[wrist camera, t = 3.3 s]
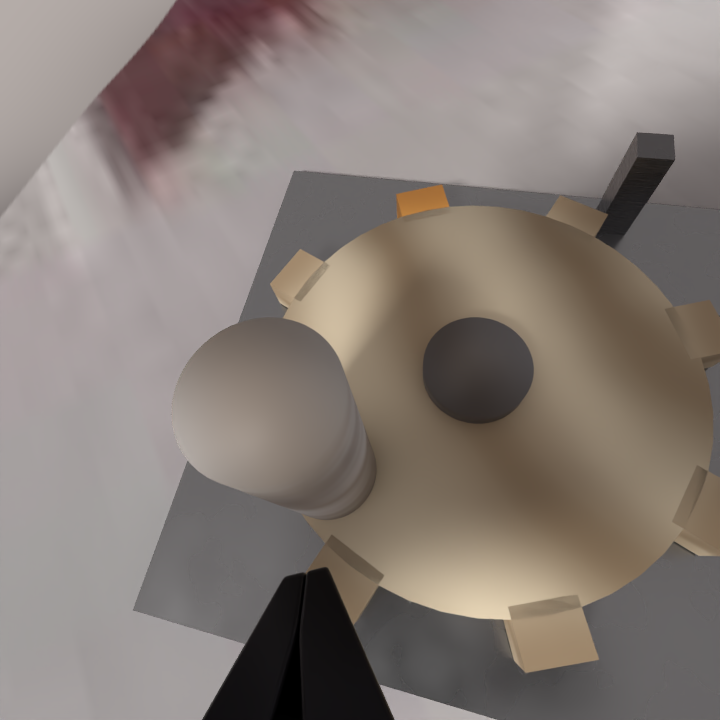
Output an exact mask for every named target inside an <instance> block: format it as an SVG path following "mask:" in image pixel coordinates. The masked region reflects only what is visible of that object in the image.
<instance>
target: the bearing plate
mask: <svg viewBox="0 0 720 720" xmlns="http://www.w3.org/2000/svg"><path fill="white" fill-rule="evenodd" d="M674 161H675V150H674V135H667V134H652V133H637V134H636V136H635V137H634V139H633V141H632V143H631V145H630V147H629V149H628V150H627V152H626V154H625V156H624V158H623V160H622V162H621V164H620V165H619V167H618V169H617V171H616V173H615V175H614V177H613V178H612V180H611V182H610V184H609V186H608V188H607V190H606V192H605V193H604V195H603V197H602V199H598V198H587V197H576V196H565V195H561V196H563V197H566V198H568V199H571V200H573V201H576V202H578V203H581V204H583V205H586V206H588V207H591V208H593V209H596V210H598V211H601V212H603V213H606V214H608V216H607V218H606V219H605V221H604V223H603V224H602V226H601V228H600V230H599V231H598V233H597V235H596V237H595V238H597V239H599V240H600V241H602V242H603V243H605V244H607V245H608V246H610V247H611V248H613V249H615V250H616V251H618V252H619V253H620V254H621V255H623V256H624V257H625V258H627V259H628V260H629V261H630V262H632V263H633V264H634V265H635V266H637V267H638V268H639V269H640V270H641V271H642V272H643V273H644V274H645V275H646V276H647V277H648V278H649V279H650V280H651V281H652V282H653V283H654V284H655V285H656V286H657V287H658V288H659V289H660V291H661V292H662V293H663V294H664V296H665V297H666V298H667V299H668V300H669V302H670V303H671V304H672V305H673V307H676V306H681V305H686V304H691V303H696V302H701V301H706V300H710V301H711V303H712V305H713V307H714V308H715V310H716V312H717V313H718V315H719V317H720V210H719V209H708V208H697V207H686V206H675V205H664V204H653V203H647V201H648V200H649V198H650V197H651V195H652V194H653V192H654V191H655V189H656V188H657V186H658V185H659V183H660V182H661V180H662V179H663V177H664V176H665V174H666V173H667V171H668V170H669V168H670V167H671V165H672V164H673V162H674ZM437 185H442V186H443V189H444V192H445V195H446V198H447V201H448V204H449V207H455V206H492V207H503V208H509V209H516V210H522V211H526V212H530V213H534V214H538V215H542V216H547V214H548V213H549V211H550V210H551V208H552V207H553V205H554V204H555V202H556V201H557V199H558V198H559V196H560V195H554V194H543V193H532V192H521V191H510V190H499V189H488V188H477V187H466V186H455V185H444V184H433V183H422V182H411V181H400V180H389V179H378V178H367V177H356V176H345V175H334V174H323V173H312V172H301V171H294V172H293V175H292V178H291V180H290V183H289V186H288V189H287V191H286V194H285V197H284V200H283V202H282V205H281V208H280V210H279V213H278V216H277V219H276V221H275V224H274V227H273V230H272V232H271V235H270V238H269V240H268V243H267V246H266V249H265V251H264V254H263V257H262V260H261V262H260V265H259V268H258V270H257V273H256V276H255V279H254V281H253V284H252V287H251V290H250V292H249V295H248V298H247V300H246V303H245V306H244V309H243V311H242V314H241V317H240V320H239V322H238V323H240V322H243V321H247V320H250V319H256V318H266V317H275V318H283V317H284V315H285V313H286V312H287V310H288V308H287V307H286V306H284V305H282V304H281V303H280V302H279V300H278V298H277V297H276V295H275V293H274V291H273V289H272V287H271V285H270V283H271V282H272V281H273V280H274V279H275V277H276V276H277V275H278V274H279V273H280V272H281V271H282V269H283V268H284V267H285V266H286V265H287V264H288V262H289V261H290V260H291V259H292V258H293V257H294V256H295V254H296V253H297V252H298V251H299V250H300V249H301V250H303V251H305V252H307V253H309V254H310V255H312V256H314V257H316V258H318V259H320V260H321V261H323V262H325V261H326V260H327V259H328V258H330V257H331V256H332V255H333V254H334V253H336V252H337V251H338V250H339V249H340V248H342V247H343V246H345V245H346V244H348V243H349V242H351V241H352V240H354V239H355V238H357V237H358V236H360V235H362V234H364V233H366V232H368V231H370V230H372V229H374V228H376V227H378V226H379V225H382V224H384V223H387V222H389V221H392V220H395V219H397V201H396V194H399V193H404V192H408V191H413V190H418V189H423V188H427V187H432V186H437ZM704 370H705V373H706V376H707V380H708V383H709V388H710V395H711V402H712V408H713V446H712V452H711V458H710V465H709V472H711V473H712V474H714V475H716V476H718V477H720V362H719V363H717V364H715V365H714V366H712V367H709V368H704ZM324 545H325V543H324V541H323V540H322V539H321V538H320V537H319V535H318V534H317V533H316V532H315V531H314V529H313V528H312V527H311V526H310V525H309V523H308V522H307V521H306V520H305V518H304V517H303V515H302V514H301V513H298V512H295V511H293V510H290V509H287V508H285V507H282V506H279V505H277V504H274V503H271V502H269V501H266V500H263V499H261V498H258V497H255V496H253V495H250V494H247V493H245V492H242V491H239V490H237V489H234V488H231V487H229V486H226V485H223V484H220V483H218V482H216V481H214V480H212V479H210V478H207V477H206V476H204V475H203V474H202V473H200V472H199V471H197V470H196V469H195V468H194V467H193V466H192V465H191V464H190V463H189V461H187V464H186V467H185V470H184V472H183V475H182V478H181V480H180V483H179V486H178V489H177V491H176V494H175V497H174V500H173V502H172V505H171V508H170V511H169V513H168V516H167V519H166V521H165V524H164V527H163V530H162V532H161V535H160V538H159V541H158V543H157V546H156V549H155V551H154V554H153V557H152V560H151V562H150V565H149V568H148V571H147V573H146V576H145V579H144V581H143V584H142V587H141V590H140V592H139V595H138V598H137V601H136V603H135V606H134V609H133V610H134V611H137V612H141V613H144V614H147V615H151V616H154V617H157V618H161V619H164V620H167V621H171V622H174V623H177V624H181V625H184V626H187V627H191V628H194V629H197V630H201V631H204V632H207V633H211V634H214V635H217V636H221V637H224V638H227V639H231V640H234V641H237V642H241V643H244V644H246V642H247V640H248V639H249V637H250V635H251V633H252V632H253V630H254V628H255V626H256V625H257V623H258V621H259V619H260V618H261V616H262V614H263V612H264V611H265V609H266V607H267V605H268V604H269V602H270V600H271V598H272V597H273V595H274V593H275V591H276V590H277V588H278V586H279V584H280V583H281V581H282V579H283V578H284V577H286V576H288V575H292V574H297V573H301V572H304V573H306V571H307V570H308V568H309V567H310V565H311V564H312V562H313V561H314V559H315V558H316V556H317V555H318V554H319V552H320V551H321V549H322V548H323V546H324ZM582 609H583V612H584V615H585V618H586V621H587V624H588V627H589V630H590V633H591V637H592V640H593V643H594V646H595V649H596V652H597V655H598V658H599V660H595V661H590V662H584V663H579V664H573V665H567V666H562V667H556V668H551V669H545V670H540V671H534V672H528V673H525V672H524V671H523V670H522V669H521V668H520V667H519V666H518V664H517V663H516V662H515V661H514V659H513V655H512V651H511V647H510V644H509V640H508V636H507V632H506V628H505V625H504V621H503V619H480V618H472V617H467V616H462V615H456V614H451V613H446V612H441V611H438V610H435V609H432V608H429V607H426V606H423V605H420V604H417V603H414V602H411V601H409V600H406V599H405V598H403V597H401V596H399V595H397V594H395V593H393V592H391V591H389V590H387V589H385V588H383V587H381V586H379V587H378V588H377V590H376V592H375V593H374V595H373V597H372V598H371V600H370V601H369V603H368V605H367V606H366V608H365V609H364V611H363V613H362V614H361V616H360V618H359V619H358V620H357V621H356V623H355V624H354V628H355V630H356V632H357V635H358V637H359V639H360V641H361V644H362V646H363V648H364V651H365V653H366V655H367V658H368V660H369V662H370V665H371V667H372V669H373V671H374V674H375V676H376V678H377V681H378V683H379V684H380V685H384V686H387V687H390V688H394V689H397V690H400V691H404V692H407V693H410V694H414V695H417V696H420V697H424V698H427V699H430V700H434V701H437V702H440V703H444V704H447V705H450V706H454V707H457V708H460V709H464V710H467V711H470V712H474V713H477V714H480V715H484V716H487V717H490V718H494V719H497V720H720V556H698V555H696V554H695V553H693V552H691V551H690V550H688V549H686V548H685V547H683V546H681V545H680V544H678V543H676V542H675V541H674V542H673V543H672V544H671V545H670V547H669V548H668V549H667V551H666V552H665V553H664V554H663V555H662V556H661V557H660V558H659V559H658V560H657V561H655V562H654V563H653V564H652V565H651V566H650V567H649V568H648V569H647V570H646V571H645V572H643V573H642V574H641V575H640V576H639V577H637V578H635V579H634V580H632V581H631V582H629V583H628V584H626V585H625V586H623V587H622V588H620V589H619V590H617V591H615V592H614V593H612V594H610V595H608V596H606V597H603V598H601V599H599V600H596V601H594V602H592V603H590V604H587V605H585V606H583V607H582Z"/></svg>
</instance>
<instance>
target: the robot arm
mask: <svg viewBox="0 0 720 720" xmlns="http://www.w3.org/2000/svg"><path fill="white" fill-rule="evenodd" d="M202 720H394V717H393V715H392V713H391V711H390V708H389V706H388V704H387V701H386V699H385V697H384V694H383V692H382V690H381V688H380V685H379V683H378V681H377V678H376V676H375V674H374V671H373V669H372V667H371V665H370V662H369V660H368V658H367V655H366V653H365V651H364V648H363V646H362V644H361V641H360V639H359V637H358V635H357V632H356V630H355V628H354V625H353V623H352V621H351V618H350V616H349V614H348V612H347V609H346V607H345V605H344V602H343V600H342V598H341V595H340V593H339V591H338V589H337V586H336V584H335V582H334V579H333V577H332V575H331V572H330V570H329V568H327V567H322V568H318V569H314V570H310V571H308V572H307V574H306V573H304V572H301V573H297V574H292V575H288V576H286V577H284V578H283V579H282V581H281V583H280V584H279V586H278V588H277V590H276V591H275V593H274V595H273V597H272V598H271V600H270V602H269V604H268V605H267V607H266V609H265V611H264V612H263V614H262V616H261V618H260V619H259V621H258V623H257V625H256V626H255V628H254V630H253V632H252V633H251V635H250V637H249V639H248V640H247V642H246V644H245V646H244V647H243V649H242V651H241V653H240V654H239V656H238V658H237V660H236V661H235V663H234V665H233V667H232V668H231V670H230V672H229V674H228V675H227V677H226V679H225V681H224V682H223V684H222V686H221V688H220V689H219V691H218V693H217V695H216V696H215V698H214V700H213V702H212V703H211V705H210V707H209V709H208V710H207V712H206V714H205V716H204V717H203V719H202Z"/></svg>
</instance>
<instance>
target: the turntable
mask: <svg viewBox="0 0 720 720" xmlns="http://www.w3.org/2000/svg"><path fill="white" fill-rule="evenodd" d="M396 201H397V219H395V220H392V221H389V222H387V223H384V224H382V225H379V226H378V227H376V228H374V229H372V230H370V231H368V232H366V233H364V234H362V235H360V236H358V237H357V238H355V239H354V240H352V241H351V242H349V243H348V244H346V245H345V246H343V247H342V248H340V249H339V250H338V251H337V252H336V253H334V254H333V255H332V256H331V257H330V258H328V259H327V260H326V261H325V262H323V261H321V260H320V259H318V258H316V257H314V256H312V255H310V254H309V253H307V252H305V251H303V250H301V249H300V250H299V251H298V252H297V253H296V254H295V256H294V257H293V258H292V259H291V260H290V261H289V262H288V264H287V265H286V266H285V267H284V268H283V269H282V271H281V272H280V273H279V274H278V275H277V276H276V277H275V279H274V280H273V281H272V282H271V283H270V285H271V287H272V289H273V291H274V293H275V295H276V297H277V298H278V300H279V302H280V303H281V304H282V305H284V306H286V307H287V308H288V310H287V312H286V313H285V315H284V317H283V318H275V317H266V318H256V319H250V320H247V321H243V322H240V323H237V324H235V325H232V326H230V327H228V328H226V329H224V330H222V331H220V332H219V333H217V334H216V335H214V336H213V337H211V338H210V339H209V340H208V341H207V342H205V343H204V344H203V345H202V346H201V347H200V348H199V349H198V350H197V351H196V352H195V353H194V355H193V356H192V357H191V359H190V360H189V361H188V363H187V364H186V366H185V368H184V369H183V371H182V373H181V375H180V377H179V379H178V382H177V385H176V388H175V391H174V396H173V401H172V412H171V415H172V426H173V431H174V435H175V438H176V441H177V444H178V446H179V448H180V450H181V451H182V453H183V455H184V456H185V458H186V459H187V460H188V461H189V463H190V464H191V465H192V466H193V467H194V468H195V469H196V470H197V471H199V472H200V473H202V474H203V475H204V476H206V477H207V478H210V479H212V480H214V481H216V482H218V483H220V484H223V485H226V486H229V487H231V488H234V489H237V490H239V491H242V492H245V493H247V494H250V495H253V496H255V497H258V498H261V499H263V500H266V501H269V502H271V503H274V504H277V505H279V506H282V507H285V508H287V509H290V510H293V511H295V512H298V513H301V514H302V515H303V517H304V518H305V520H306V521H307V522H308V523H309V525H310V526H311V527H312V528H313V529H314V531H315V532H316V533H317V534H318V535H319V537H320V538H321V539H322V540H323V541H324V543H325V545H324V546H323V548H322V549H321V551H320V552H319V554H318V555H317V556H316V558H315V559H314V561H313V562H312V564H311V565H310V567H309V568H308V570H307V571H306V574H307V572H308V571H310V570H314V569H318V568H322V567H327V568H329V570H330V572H331V575H332V577H333V579H334V582H335V584H336V586H337V589H338V591H339V593H340V595H341V598H342V600H343V602H344V605H345V607H346V609H347V612H348V614H349V616H350V618H351V621H352V623H353V625H354V624H355V623H356V621H357V620H358V619H359V618H360V616H361V614H362V613H363V611H364V609H365V608H366V606H367V605H368V603H369V601H370V600H371V598H372V597H373V595H374V593H375V592H376V590H377V588H378V587H379V586H381V587H383V588H385V589H387V590H389V591H391V592H393V593H395V594H397V595H399V596H401V597H403V598H405V599H406V600H409V601H411V602H414V603H417V604H420V605H423V606H426V607H429V608H432V609H435V610H438V611H441V612H446V613H451V614H456V615H462V616H467V617H472V618H480V619H503V621H504V625H505V628H506V632H507V636H508V640H509V644H510V647H511V651H512V655H513V659H514V661H515V662H516V663H517V664H518V666H519V667H520V668H521V669H522V670H523V671H524V672H525V673H528V672H534V671H540V670H545V669H551V668H556V667H562V666H567V665H573V664H579V663H584V662H590V661H595V660H599V658H598V655H597V652H596V649H595V646H594V643H593V640H592V637H591V633H590V630H589V627H588V624H587V621H586V618H585V615H584V612H583V609H582V607H583V606H585V605H587V604H590V603H592V602H594V601H596V600H599V599H601V598H603V597H606V596H608V595H610V594H612V593H614V592H615V591H617V590H619V589H620V588H622V587H623V586H625V585H626V584H628V583H629V582H631V581H632V580H634V579H635V578H637V577H639V576H640V575H641V574H642V573H643V572H645V571H646V570H647V569H648V568H649V567H650V566H651V565H652V564H653V563H654V562H655V561H657V560H658V559H659V558H660V557H661V556H662V555H663V554H664V553H665V552H666V551H667V549H668V548H669V547H670V545H671V544H672V543H673V542H674V541H675V542H676V543H678V544H680V545H681V546H683V547H685V548H686V549H688V550H690V551H691V552H693V553H695V554H696V555H698V556H720V477H718V476H716V475H714V474H712V473H711V472H709V465H710V458H711V452H712V446H713V408H712V402H711V395H710V388H709V383H708V380H707V376H706V373H705V370H704V368H709V367H712V366H714V365H715V364H717V363H719V362H720V317H719V315H718V313H717V312H716V310H715V308H714V307H713V305H712V303H711V301H710V300H706V301H701V302H696V303H691V304H686V305H681V306H676V307H673V305H672V304H671V303H670V302H669V300H668V299H667V298H666V297H665V296H664V294H663V293H662V292H661V291H660V289H659V288H658V287H657V286H656V285H655V284H654V283H653V282H652V281H651V280H650V279H649V278H648V277H647V276H646V275H645V274H644V273H643V272H642V271H641V270H640V269H639V268H638V267H637V266H635V265H634V264H633V263H632V262H630V261H629V260H628V259H627V258H625V257H624V256H623V255H621V254H620V253H619V252H618V251H616V250H615V249H613V248H611V247H610V246H608V245H607V244H605V243H603V242H602V241H600V240H599V239H597V238H595V237H596V235H597V233H598V231H599V230H600V228H601V226H602V224H603V223H604V221H605V219H606V218H607V216H608V214H606V213H603V212H601V211H598V210H596V209H593V208H591V207H588V206H586V205H583V204H581V203H578V202H576V201H573V200H571V199H568V198H566V197H563V196H561V195H560V196H559V198H558V199H557V201H556V202H555V204H554V205H553V207H552V208H551V210H550V211H549V213H548V214H547V216H542V215H538V214H534V213H530V212H526V211H522V210H516V209H509V208H503V207H492V206H455V207H449V204H448V201H447V198H446V195H445V192H444V189H443V186H442V185H437V186H432V187H427V188H423V189H418V190H413V191H408V192H404V193H399V194H396Z"/></svg>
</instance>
